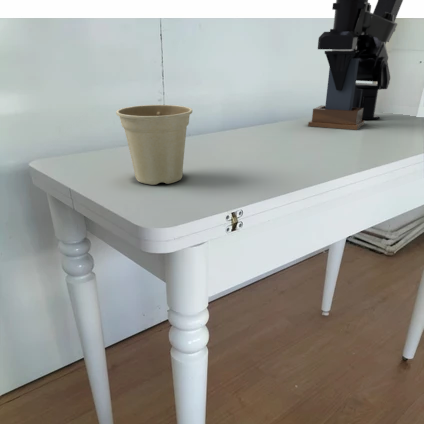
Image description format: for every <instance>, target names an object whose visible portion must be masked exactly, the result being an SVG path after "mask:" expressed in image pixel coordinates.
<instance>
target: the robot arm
mask: <svg viewBox="0 0 424 424" xmlns="http://www.w3.org/2000/svg"><path fill="white" fill-rule="evenodd" d="M403 2H404V0H377V2H376V5H375V7H374V10H373V12H371V11H372V5H371V3H370V2H369V0H335V2H333V3H332V8H331V9H332V11H334V18H333V25H332V26H333V27H332V28H329V29H330V30H329V31H323V32H322V34H321V35H319V37H318V41H317V50H324V54H325V57H326V59H327V62H328V66H329V68H330V69H331V73H332V76H333V80H334V83H335V87H336V90H342V89H343V85H344V82H345V78H346V75H347V71H348V67H349V64H350V61H351V59H359V63H358V70H357V78H356V85H355V92H354V99H353V106H352V107H358V108H363V115H362V120H380V119H381V116H380V115H378V114H375V113H376V107H377V101H378V96H379V91H380V90H388V88H389V85H390V81H391V73H390V68H389V63H388V61H389V54H388V49H387V43H389V42H390V40H391V39H392V36H393V35H394V33H395V32H396V29H397V26H398V22H396V19H397V17H398V14H399V11H400V9H401V7H402V4H403ZM368 82H369V83H368ZM371 82H376V83H371Z"/></svg>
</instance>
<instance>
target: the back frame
mask: <svg viewBox="0 0 424 424" xmlns="http://www.w3.org/2000/svg"><path fill="white" fill-rule="evenodd" d="M362 115H363V108H358V107H352V110H335V109H325V105H318V106H317V107H314V108H312V117H311V120H310V121H308V124H307V127H314V128H326V129H327V128H329V129H341V130H354V131H357V130H359V129H360V128H361V127H362V126H364V125H365V120H366V119H362Z"/></svg>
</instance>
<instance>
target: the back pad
mask: <svg viewBox="0 0 424 424" xmlns="http://www.w3.org/2000/svg"><path fill="white" fill-rule="evenodd" d="M358 63H359V59H351V61H350V64H349V67H348V71H347V75H346V78H345V82H344V85H343V89H342V90H336V87H335V83H334V80H333V76H332V73H331V69H330V67H329V70H328V79H327V87H326V95H325V96H326V97H325V104H324V106H325V109H335V110H352V106H353V99H354V92H355V85H356V83H357V81H356V78H357V70H358Z"/></svg>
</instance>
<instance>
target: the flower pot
mask: <svg viewBox="0 0 424 424" xmlns="http://www.w3.org/2000/svg"><path fill="white" fill-rule="evenodd" d="M192 113H193V108H191V107H189V106H184V105H177V104H176V105H175V104H145V105H143V104H141V105H131V106H126V107H122V108H119V109H117V110H116V111H115V114H116V116H118V117H119V120H120V124H121V126H122V128H123V130H124V133H125V138H126V142H127V146H128V150H129V154H130V159H131V163H132V167H133V172H134V177H135V179H136V181H138V182H139V183H141V184H146V185H152V186H155V185H158V184H160V183H165V184H166V185H170V184H174V183H176V182H178V181H181V180H182V178H183V174H184V171H183V170H184V159H185V148H186V138H187V129H188V128H187V127H188V126H189V124H190V115H192Z"/></svg>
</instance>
